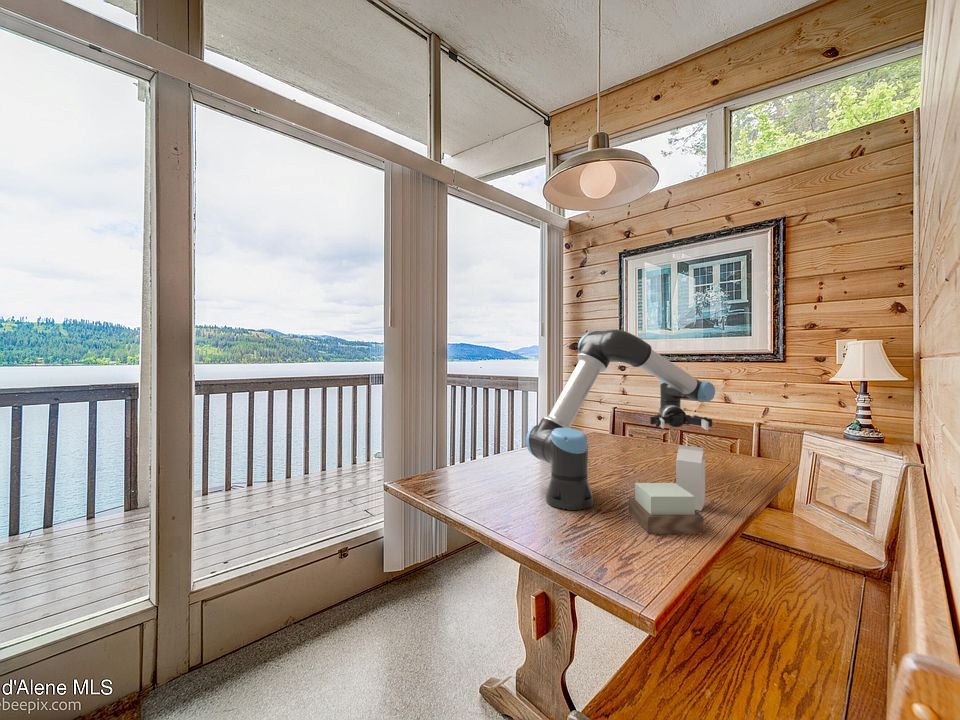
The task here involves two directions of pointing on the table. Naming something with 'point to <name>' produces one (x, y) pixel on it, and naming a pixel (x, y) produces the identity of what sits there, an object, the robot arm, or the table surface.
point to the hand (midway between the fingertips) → (684, 425)
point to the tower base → (666, 521)
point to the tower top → (664, 499)
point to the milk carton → (691, 473)
